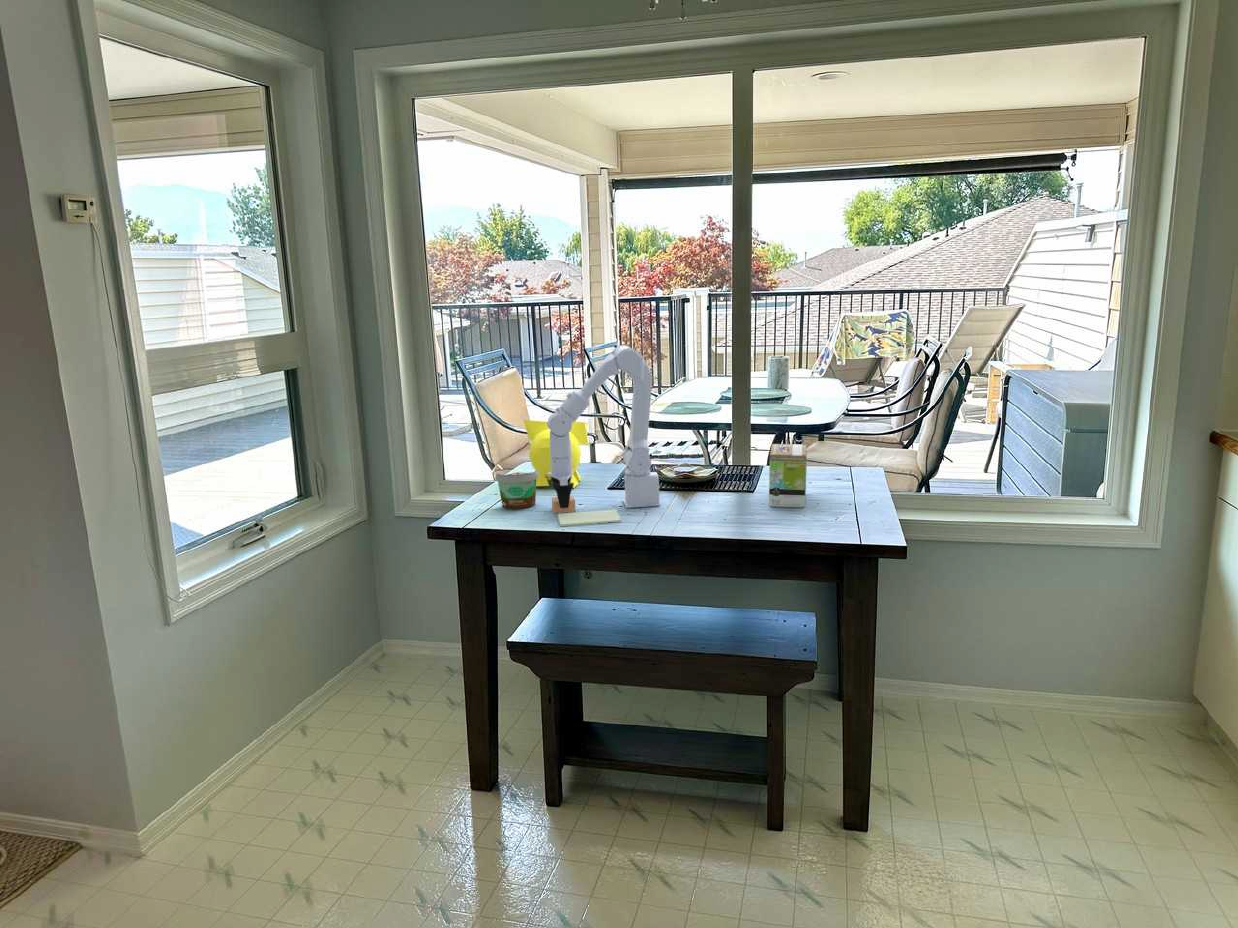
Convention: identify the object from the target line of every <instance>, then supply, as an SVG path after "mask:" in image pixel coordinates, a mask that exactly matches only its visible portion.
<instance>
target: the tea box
mask: <svg viewBox="0 0 1238 928" xmlns="http://www.w3.org/2000/svg"><path fill="white" fill-rule="evenodd" d="M769 453H770V454H769V470H768V471H769V474H768V475H769V476H768V477H769V478H768V479H769V481H768V483H769V484H768V506H769V507H773V508H774V507H776V508H805V507H806V496H807V495H806V492H807V461H808V459H807V457H808V456H807V453H808V452H807V444H802V443H801V444H798V443H797V444H795V443H794V444H791V443H789V444H787V443H772V444H771V448H770V452H769Z"/></svg>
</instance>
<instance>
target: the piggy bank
mask: <svg viewBox="0 0 1238 928" xmlns="http://www.w3.org/2000/svg"><path fill="white" fill-rule="evenodd" d="M523 422H524V426H525V431H526V433H527V437H528V438H527V439H528V440H530V441H531V443H530V450H529V456H528V457H529V460H530V463H531V466H532V467H533V469H534V470H535V471H536V469H537V471H538V475H539V477H538V478H537V479H536V487H549V486H550V484H549V482H550V481H551V480H552V479H551V477H552V476H547V473H548V472H551V457H550V431H551V430H550V429H549V428H548V425H547V422H548V421H542V420H540V421H539V420H529V419H527V420H526V419H523ZM588 424H589V422H584V421H583V422H582V421H575V422H573V423H572V428H571V431H570V432H569V433H570V440H571V458H572V471H573V475H572V478H571V480H570V483H574V486H573V488H572V489H574V488H575V487H576V486H578V484H579V482H581V480H582V479H581V478H582V477H581V476H580V474H579V473H578V470H577V469H578V467H579V465H580V464H581V463H580V462H581V453H582V452H581V446H580V445H582V446H583V445H584V446H586V447H589V436H588V429H587V426H588Z"/></svg>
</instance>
